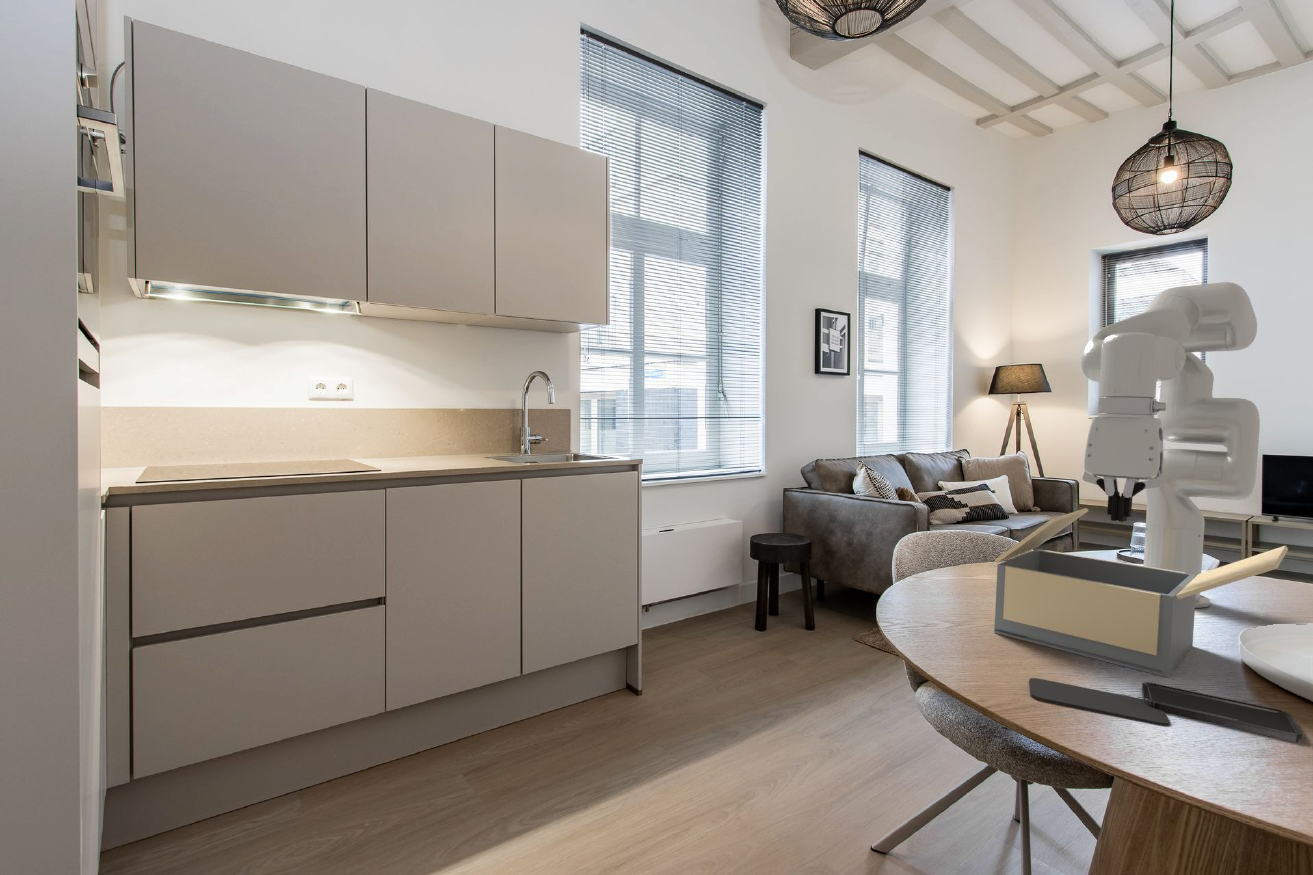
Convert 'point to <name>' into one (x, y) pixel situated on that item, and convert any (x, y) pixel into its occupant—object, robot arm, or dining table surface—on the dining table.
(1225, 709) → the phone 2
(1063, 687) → the phone
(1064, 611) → the carton
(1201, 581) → the carton flap
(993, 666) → the dining table surface
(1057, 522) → the carton flap
